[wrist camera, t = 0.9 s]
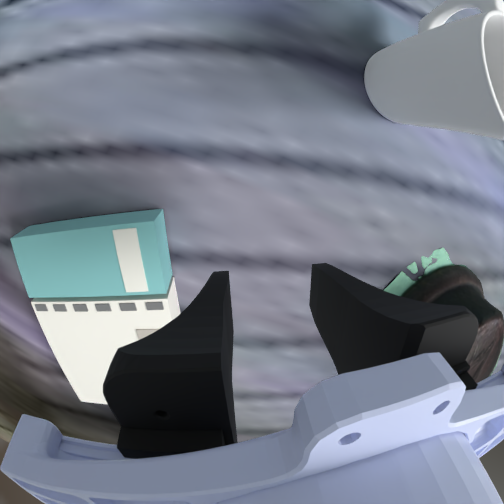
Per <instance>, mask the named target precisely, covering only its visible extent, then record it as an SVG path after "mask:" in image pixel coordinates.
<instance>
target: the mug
mask: <svg viewBox="0 0 504 504" xmlns="http://www.w3.org/2000/svg"><path fill="white" fill-rule="evenodd" d="M466 8H475V9H478V10H480V11H481V13H480V14H476V15H472V16H469V17H465V18H462V19H459V20H456V21H453V22H450V23H447V24H444V23H445V22H446V20H447V19H448V18H449V17H450V16H452V15H453V14H454V13H456V12H458V11H460V10H462V9H466ZM443 24H444V25H443ZM364 83H365V88H366V92H367V94H368V97H369V99H370V101H371V103H372V104H373V106H374V107H375V108H376V110H377V111H378V112H379V113H380V114H381V115H382V116H384V117H385V118H387V119H388V120H390V121H392V122H395V123H398V124H405V125H413V126H420V127H429V128H437V129H445V130H451V131H458V132H464V133H469V134H475V135H480V136H485V137H490V138H494V139H499V140H504V2H503V1H502V0H446V1H444V2H443V3H441V4H440V5H439V6H437V7H436V8H435V9H433V10H432V11H431V12H430V13H428V14H427V15H426V16H425V17H423V18H422V19H421V20H420V21H419V30H418V34H417V35H414V36H412V37H409V38H407V39H404V40H402V41H399V42H397V43H394V44H392V45H390V46H388V47H386V48H384V49H382V50H380V51H378V52H376V53H375V54H374V55H373V56H372V57H371V58H370V59H369V61H368V62H367V65H366V68H365V73H364Z"/></svg>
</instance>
